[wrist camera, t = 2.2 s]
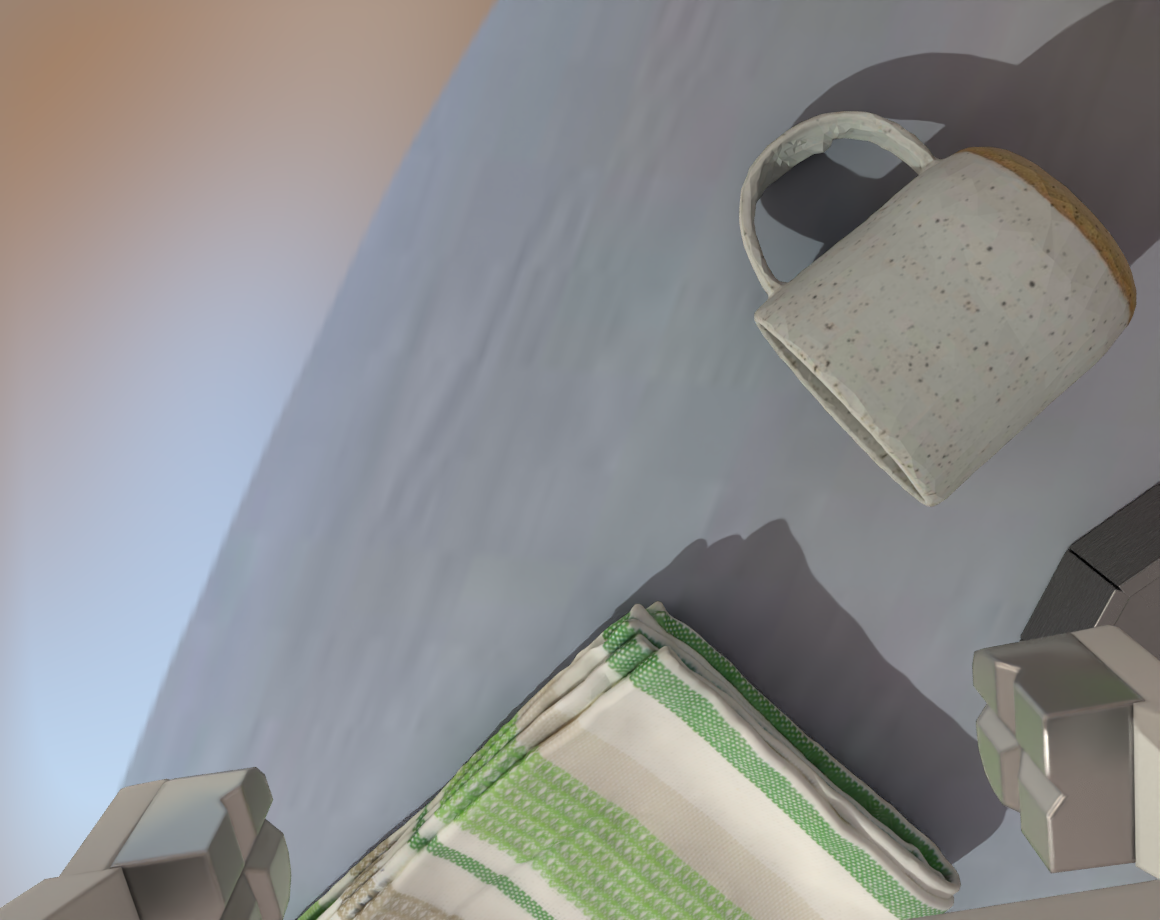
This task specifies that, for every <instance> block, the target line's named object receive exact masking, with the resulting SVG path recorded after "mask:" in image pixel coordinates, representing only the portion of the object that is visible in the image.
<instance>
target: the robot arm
mask: <svg viewBox="0 0 1160 920" xmlns="http://www.w3.org/2000/svg"><path fill="white" fill-rule="evenodd" d="M972 669H973V686H974V687H975V688H976V690H977V691H978V692H979V694H980V695H981V696H982V697H983V699H984V700H985V701H986V703H987V704H986V706H985V707H984V709H983V711H982V712H981V714H980V715H979V717H978V719H977V720H976V728H977V739H978V748H979V752H980V756H981V759H982V763H983V767H984V771H985V774H986V776H987V778H988V780H989V782H990V785H991V787H992V789H993V791H994V792H995V794H996V795H997V797H998V798H999V800H1000V801H1001V803H1002V804H1003V805H1004V806H1006V807H1009V808H1011V809H1013V810H1015V811H1017V812H1019V813H1020V816H1021V831H1022V833H1023V834H1024V836H1025V837H1026V839H1027V840H1028V841H1029V843H1030V844H1031V846H1032V847H1033V848H1034V850H1035V851H1036V853H1037V854H1038V855H1039V857H1040V858H1041V860H1042V861H1043V863H1044V864H1045V865H1046V867H1047V868H1048V870H1049V871H1050V872H1051V873H1057V872H1065V871H1072V870H1080V869H1088V868H1096V867H1103V866H1111V865H1119V864H1127V863H1134V862H1136V866H1137V867H1138V868H1140V869H1142V870H1144V871H1145V872H1147V873H1149V874H1151V875H1152V876H1154V877H1156V878H1158V879H1159V880H1153V881H1147V882H1141V883H1134V884H1128V885H1122V886H1115V887H1109V888H1103V889H1096V890H1090V891H1083V892H1077V893H1071V894H1064V895H1058V896H1052V897H1045V898H1039V899H1033V900H1026V901H1020V902H1013V903H1007V904H1001V905H994V906H988V907H982V908H975V909H969V910H963V911H956V912H950V913H943V914H937V915H931V916H924V917H918V918H912V919H905V920H1160V661H1159V660H1158V659H1157V658H1156V657H1155V656H1153V655H1152V654H1151V653H1150V652H1148V651H1147V650H1146V649H1145V648H1143V647H1142V646H1141V645H1140V644H1139V643H1137V642H1136V641H1135V640H1134V639H1132V638H1131V637H1130V636H1129V635H1128V634H1126V633H1125V632H1124V631H1123V630H1121V629H1120V628H1119V627H1116V626H1111V625H1104V626H1099V627H1094V628H1090V629H1085V630H1080V631H1075V632H1070V633H1069V632H1068V633H1063V634H1058V635H1052V636H1047V637H1042V638H1036V639H1031V640H1026V641H1021V642H1015V643H1010V644H1005V645H999V646H994V647H989V648H984V649H980V650H977V651H974V658H973V664H972ZM272 801H273V798H272V795H271V792H270V789H269V786H268V783H267V780H266V777H265V774H263V773H262V772H261V771H260V770H259V769H258V768H257V767H251V768H244V769H238V770H231V771H224V772H217V773H210V774H203V775H196V776H189V777H182V778H175V779H172V780H169V779H164V780H158V781H153V782H148V783H142V784H137V785H132V786H129V787H126V788H123V789H121V790H120V791H119V792H118V794H117V795H116V797H115V798H114V799H113V801H112V802H111V804H110V805H109V807H108V808H107V809H106V811H105V812H104V814H103V815H102V817H101V818H100V819H99V821H98V822H97V824H96V825H95V827H94V828H93V829H92V831H91V832H90V834H89V835H88V836H87V838H86V839H85V840H84V842H83V843H82V845H81V846H80V848H79V849H78V850H77V852H76V854H75V855H74V856H73V857H72V859H71V860H70V862H69V863H68V865H67V866H66V867H65V869H64V870H63V872H62V873H61V874H60V876H59V877H55V878H49V879H44V880H43V881H41V882H40V883H38V884H37V885H35V886H34V887H32V888H31V889H29V890H27V891H26V892H24V893H23V894H21V895H20V896H18V897H17V898H15V899H14V900H12V901H10V902H9V903H7V904H6V905H4V906H3V907H1V908H0V920H283V917H284V914H285V911H286V908H287V905H288V902H289V897H290V884H291V868H290V860H289V852H288V848H287V845H286V841H285V838H284V834H283V833H282V832H281V831H280V830H279V829H277V828H276V827H275V826H274V825H272V824H271V823H270V822H269V821H267V820H266V819H265V817H266V815H267V813H268V810H269V808H270V806H271V804H272Z"/></svg>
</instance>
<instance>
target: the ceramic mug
mask: <svg viewBox="0 0 1160 920" xmlns="http://www.w3.org/2000/svg"><path fill="white" fill-rule="evenodd" d="M841 138H850V139H856V140H865V141H870V142H872V143H875V144H877V145H879V146H880V147H881V148H882V149H885V150H888V151H890V152H892V153H893V154H894V155H896V156H897V157H898V158H900V159H901V160H902V161H904V162H905V163H907V164H908V165H909V166H910V167H911V168H912V169H913V170H914V171H915V172H916V173H917V174H918V175H919V176H917V177H916V178H915V179H913V180H912V181H911V182H910V183H909V184H907V185H906V186H905V187H904V188H903V189H901V190H900V191H899V192H898V193H897V194H895V195H894V196H893V197H892V198H891V199H890V200H889V201H888V202H886V203H885V204H884V205H883V206H882V207H881V208H880V209H879V210H878V211H876V212H875V213H874V214H872V215H871V216H870V217H869V218H868V219H867V220H866V221H865V222H864V223H862V224H861V225H860V226H858V227H857V228H856V229H855V230H853V231H852V232H851V233H850V234H849V235H847V236H846V237H844V238H843V239H842V240H840V241H839V242H838V243H837V244H835V245H834V246H833V247H832V248H831V249H829V250H828V251H827V252H826V253H825V254H823V255H822V256H821V257H819V258H818V259H816V260H815V261H814V262H813V263H812V264H811V265H810V266H808V267H807V268H805V269H804V270H803V271H801V272H800V273H799V274H798V275H797V276H796V277H795V278H794V279H793V280H791V281H790V282H788V283H786V282H780V281H778V280H777V279H776V278H775V277H774V275H773V274H772V272H771V270H770V269H769V267H768V265H767V263H766V260H765V258H764V256H763V253H762V250H761V247H760V244H759V241H758V238H757V236H756V232H755V225H754V217H755V209H756V203H757V201H758V200H759V199H760V197H761V196H762V194H763V192H764V190H765V189H766V188H767V187H768V186H769V185H770V184H771V183H773V182H775V181H776V180H777V179H778V178H780V177H781V176H782V175H784V174H785V173H786V172H787V171H789V170H790V169H791V168H792V167H794V166H795V165H796V164H798V163H799V162H801V161H803V160H804V159H806V158H808V157H809V156H811V155H813V154H817V153H824V152H825V151H826V150H827V149H828V148H829V147H830V146H831V144H832V141H833V140H834V139H841ZM739 223H740V229H741V235H742V240H743V244H744V247H745V250H746V252H747V255H748V257H749V260H750V262H751V265H752V267H753V269H754V271H755V273H756V275H757V277H758V279H759V281H760V283H761V285H762V287H763V288H764V290H765V291H766V293H767V294H768V296H769V298H768V300H767V301H766V302H765V303H764V304H763V305H762V306H761V307H760V308H759V309H758V310H757V311H756V312H755V315H754V319H755V322H756V324H757V326H758V328H759V329H760V330H761V332H762V334H763V335H764V337H765V338H766V339H767V340H768V342H769V343H770V345H771V346H772V347H773V349H774V350H775V351H776V352H777V354H778V355H779V357H780V358H781V359H782V360H783V361H784V362H785V363H786V364H787V365H788V366H789V367H790V368H791V370H792V371H793V372H794V373H795V375H796V376H797V377H798V379H799V380H800V381H801V382H802V384H803V385H804V386H805V387H806V388H807V389H808V390H809V391H810V392H811V394H812V395H813V396H814V397H815V398H816V399H817V400H818V401H819V402H820V403H821V405H822V406H823V407H824V409H825V410H826V411H827V412H828V413H829V414H830V415H831V416H833V418H834V419H835V420H836V422H837V423H838V424H839V425H840V426H841V427H842V428H843V429H844V430H845V431H846V432H847V433H848V434H849V435H850V436H851V437H852V438H853V439H854V440H855V442H856V443H857V444H858V445H859V446H860V447H861V448H862V449H863V450H864V451H865V452H866V453H867V454H868V455H869V456H870V457H871V458H872V459H873V460H874V462H875V463H876V464H877V465H878V466H879V467H881V468H882V469H883V470H884V471H886V472H887V473H888V474H889V475H890V477H891V478H892V479H893V480H894V481H896V482H897V483H898V484H900V485H901V486H902V487H903V489H905V490H906V491H907V492H908V493H909V494H910V495H912V496H913V497H915V498H916V499H917V500H918V501H919V502H921V503H923V504H925V505H926V506H930V507H932V506H935V505H937V504H939V503H941V502H942V501H944V500H945V499H946V498H948V497H949V496H950V495H951V494H952V493H953V492H954V491H955V490H956V489H957V488H958V487H959V486H960V485H961V484H963V483H964V482H965V481H966V480H967V479H968V478H969V477H970V476H971V475H972V474H973V473H974V472H975V471H976V470H977V469H978V468H979V467H981V466H982V465H983V464H984V463H986V462H987V461H988V460H989V459H990V458H991V457H992V456H993V455H995V454H996V453H997V452H998V451H999V450H1000V449H1001V448H1002V447H1003V446H1004V445H1005V444H1006V443H1008V442H1009V441H1010V440H1011V439H1012V438H1013V437H1014V436H1015V435H1016V434H1017V433H1019V432H1020V431H1021V430H1022V429H1023V428H1024V427H1026V426H1027V425H1028V424H1029V423H1030V422H1031V421H1032V420H1033V419H1034V418H1035V417H1036V416H1037V415H1038V414H1039V413H1040V412H1042V411H1043V410H1044V409H1045V408H1046V407H1047V406H1048V405H1049V404H1050V403H1051V402H1052V401H1054V400H1055V399H1056V398H1057V397H1058V396H1059V395H1060V394H1062V393H1063V392H1064V391H1065V390H1066V389H1067V388H1069V387H1070V386H1071V385H1072V384H1073V383H1074V382H1076V381H1077V380H1078V379H1079V378H1080V377H1081V376H1082V375H1084V374H1085V373H1086V372H1087V371H1088V370H1089V369H1090V368H1091V367H1093V366H1094V365H1095V364H1096V363H1097V362H1098V361H1099V360H1100V358H1101V357H1102V356H1103V355H1104V354H1105V353H1106V352H1107V351H1108V350H1109V348H1110V347H1111V346H1112V344H1113V343H1114V342H1115V340H1116V339H1117V338H1118V337H1119V335H1120V334H1121V333H1122V332H1123V330H1124V329H1125V328H1126V327H1127V325H1128V324H1129V322H1130V320H1131V318H1132V316H1133V314H1134V310H1135V307H1136V287H1135V284H1134V280H1133V276H1132V272H1131V270H1130V267H1129V264H1128V262H1127V260H1126V258H1125V257H1124V255H1123V253H1122V251H1121V250H1120V248H1119V246H1118V245H1117V243H1116V242H1115V240H1114V239H1113V237H1112V236H1111V235H1110V233H1109V232H1108V230H1107V229H1106V228H1105V227H1104V226H1103V225H1102V223H1101V222H1100V221H1099V220H1098V219H1097V218H1096V217H1095V216H1094V214H1093V213H1092V212H1091V211H1090V210H1089V209H1088V208H1087V207H1086V206H1085V205H1084V204H1083V203H1082V202H1081V201H1080V200H1079V199H1078V198H1077V197H1076V196H1075V195H1074V194H1073V193H1072V192H1071V191H1070V190H1069V189H1068V188H1067V187H1066V186H1064V185H1063V184H1062V183H1060V182H1059V181H1057V180H1056V179H1055V178H1053V177H1052V176H1051V175H1049V174H1048V173H1047V172H1045V171H1044V170H1043V169H1041V168H1040V167H1039V166H1038V165H1036V164H1034V163H1033V162H1031V161H1029V160H1027V159H1026V158H1024V157H1022V156H1020V155H1017V154H1015V153H1013V152H1010V151H1008V150H1005V149H1000V148H994V147H969V148H966V149H963V150H960V151H958V152H956V153H955V154H953V155H951V156H949V157H948V158H946V159H937V158H936V157H934V156H933V155H932V153H931V152H930V150H929V149H928V148H927V147H926V146H925V145H924V144H923V143H922V142H920V141H919V139H918V138H917V137H916V136H915V135H914V134H912V133H910V132H908V131H907V130H905V129H904V128H903V127H901V126H900V125H899V124H897V123H895V122H892V121H890V120H888V119H885V118H883V117H880V116H878V115H876V114H872V113H868V112H857V111H842V112H834V113H826V114H821V115H818V116H815V117H813V118H811V119H808V120H806V121H803V122H801V123H799V124H797V125H796V126H794V127H792V128H791V129H789V130H788V131H786V132H785V133H784V134H782V135H781V136H780V137H779V138H777V139H776V140H775V141H773V142H772V143H771V144H769V145H768V146H767V147H766V148H765V149H764V151H763V152H762V153H761V154H760V155H759V157H758V158H757V159H756V160H755V161H754V163H753V164H752V166H751V167H750V168H749V171H748V174H747V177H746V180H745V182H744V184H743V187H742V189H741V197H740V208H739Z"/></svg>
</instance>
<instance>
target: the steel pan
mask: <svg viewBox="0 0 1160 920" xmlns="http://www.w3.org/2000/svg"><path fill="white" fill-rule="evenodd" d="M1070 549H1071V551H1070V550H1067V551H1066V552H1065V554H1064V556H1063V558H1062V560H1061V562H1060V564H1059V565H1058V567H1057V569H1056V571H1055V573H1054V575H1053V577H1052V579H1051V580H1050V582H1049V584H1048V586H1047V588H1046V590H1045V592H1044V593H1043V595H1042V597H1041V599H1040V601H1039V603H1038V605H1037V607H1036V608H1035V610H1034V612H1033V614H1032V616H1031V618H1030V620H1029V621H1028V623H1027V625H1026V627H1025V629H1024V631H1023V633H1022V635H1021V638H1022V639H1023V640H1020V642H1021V641H1026V640H1031V639H1036V638H1042V637H1047V636H1052V635H1058V634H1063V633H1068V632H1069V633H1070V632H1075V631H1080V630H1085V629H1090V628H1094V627H1099V626H1104V625H1111V626H1116V627H1119V628H1120V629H1121V630H1123V631H1124V632H1125V633H1126V634H1128V635H1129V636H1130V637H1131V638H1132V639H1134V640H1135V641H1136V642H1137V643H1139V644H1140V645H1141V646H1142V647H1143V648H1145V649H1146V650H1147V651H1148V652H1150V653H1151V654H1152V655H1153V656H1155V657H1156V658H1157V659H1158V660H1159V661H1160V485H1156V486H1155V487H1154V488H1152V489H1151V490H1149V491H1148V492H1147V493H1145V494H1144V495H1142V496H1141V497H1139V498H1138V499H1137V500H1135V501H1134V502H1132V503H1131V504H1130V505H1128V506H1127V507H1125V508H1124V509H1122V510H1121V511H1120V512H1118V513H1117V514H1115V515H1114V516H1112V517H1111V518H1110V519H1108V520H1107V521H1105V522H1104V523H1103V524H1101V525H1100V526H1098V527H1097V528H1096V529H1094V530H1093V531H1091V532H1090V533H1088V534H1087V535H1086V536H1084V537H1083V538H1081V539H1080V540H1079V541H1077V542H1076V543H1074V544H1073V545H1071V546H1070Z"/></svg>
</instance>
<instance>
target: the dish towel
mask: <svg viewBox="0 0 1160 920" xmlns="http://www.w3.org/2000/svg"><path fill="white" fill-rule="evenodd" d="M960 886H961V883H960V879H959V875H958V873H957V871H956V870H955V868H954V867H953V866H952V865H951V864H950V863H949V862H948V861H947V860H946V858H945V857H944V856H943V855H942V853H941V852H940V850H939V848H938V847H937V846H936V845H935V844H934V843H933V842H932V841H931V840H930V839H929V838H928V837H926V836H925V835H924V834H923V833H921V832H920V831H919V830H918V829H916V828H915V827H914V826H913V825H912V824H911V823H909V822H908V821H907V820H906V819H905V818H904V817H903V816H902V815H901V814H900V813H899V812H898V811H897V810H896V809H895V808H894V807H893V806H892V805H891V804H889V803H888V802H886V801H885V800H884V799H882V798H881V797H880V796H879V795H877V794H876V793H875V792H874V791H873V790H872V789H871V788H870V787H869V786H868V785H867V784H865V783H864V782H863V781H861V780H860V779H859V778H857V777H856V776H855V775H854V774H853V773H851V772H850V771H849V770H848V769H847V768H846V767H844V766H843V765H842V764H841V763H839V762H838V761H837V760H836V759H835V758H833V757H832V756H831V755H830V754H829V753H828V752H827V751H826V750H825V749H824V748H823V747H822V746H821V745H819V744H818V743H817V742H815V741H813V740H812V739H811V738H809V737H808V736H807V735H806V734H805V733H804V732H803V731H802V730H801V729H800V728H799V727H798V726H797V725H795V724H794V723H793V722H792V721H791V720H790V719H789V717H787V716H786V715H785V714H784V713H782V712H781V711H780V710H779V709H778V708H777V707H776V706H774V705H773V704H772V703H771V702H770V701H769V700H768V699H767V698H766V697H765V696H763V695H762V694H761V693H760V692H759V691H758V690H757V689H756V688H755V687H753V686H752V685H751V684H750V683H749V682H748V681H747V680H746V678H745V677H744V676H743V675H742V674H741V673H740V672H739V671H738V670H737V669H736V667H735V666H734V665H733V664H732V663H731V662H730V661H729V660H728V659H726V658H725V657H724V656H723V655H721V654H720V653H719V652H717V651H716V650H715V649H714V648H713V647H712V646H711V645H709V644H708V643H707V642H706V641H705V640H704V639H703V638H702V637H701V636H700V635H699V634H698V633H697V632H695V631H694V630H693V629H691V628H690V627H689V626H688V625H686V624H684V623H683V622H681V621H679V620H677V619H675V618H673V617H672V616H670V614H669V613H668V612H667V611H666V609H665V607H664V606H663V604H662V603H661V602H659V601H656V602H655V603H653V604H652V605H651V606H650V607H648V608H647V609H645V608H644V607H643V606H642V605H641V604H635V605H634V606H633V608H632V609H631V611H630V612H629V613H627V614H626V615H625V616H623V617H622V618H621V619H619V620H618V621H616V622H615V623H613V624H612V625H610V626H609V627H608V628H607V629H606V630H605V631H603V632H602V633H601V634H600V635H599V636H598V637H597V638H596V639H595V640H594V641H593V642H592V643H591V644H590V645H589V646H588V647H586V648H585V649H584V650H582V651H581V652H579V653H578V654H577V656H576V657H575V659H574V661H573V662H572V663H571V664H570V666H568V667H567V668H565V669H564V670H562V671H561V672H559V673H558V674H557V675H556V676H555V677H554V678H553V679H551V680H550V681H549V682H548V683H547V684H546V685H545V686H544V687H543V688H542V689H541V690H540V691H539V692H538V693H537V694H536V695H535V696H533V697H532V698H531V699H530V700H529V701H528V702H527V703H526V704H525V705H524V706H523V707H522V708H521V709H520V710H519V711H518V712H517V713H516V715H515V716H514V717H513V718H512V719H511V720H510V721H509V722H508V723H507V724H505V725H504V726H502V727H501V729H500V730H499V732H498V733H497V734H495V735H494V736H493V737H491V738H490V739H489V741H488V742H487V743H486V744H485V745H484V747H483V748H482V749H481V750H479V751H478V752H476V753H475V754H474V755H473V756H472V757H471V758H470V760H469V761H468V762H467V763H466V764H464V765H463V766H462V767H461V768H460V769H459V770H458V772H457V773H456V775H455V776H454V777H453V778H452V779H451V780H450V781H449V782H448V783H447V785H446V786H445V787H444V788H443V789H442V790H441V791H440V793H439V794H438V795H437V796H436V797H435V798H434V799H433V800H432V801H431V802H430V803H428V804H427V805H426V806H425V807H424V808H423V809H422V810H421V811H419V812H418V813H417V814H416V815H414V816H413V817H412V818H411V819H410V820H409V821H408V822H407V823H406V824H405V825H404V826H402V827H401V828H400V829H399V830H397V831H396V832H395V833H394V834H392V835H391V836H390V837H388V838H387V839H386V840H384V841H383V842H381V843H380V844H379V845H378V846H377V847H376V848H375V849H374V850H373V851H372V852H370V853H369V854H368V855H366V856H365V857H364V858H363V859H362V860H361V861H360V862H359V863H358V864H357V865H355V866H354V867H353V868H351V869H350V870H349V872H348V873H347V874H346V875H345V876H344V877H343V878H342V879H341V880H339V881H338V882H337V883H336V884H335V885H334V886H333V887H332V888H331V889H330V890H329V891H328V893H327V894H326V895H324V896H323V897H322V898H320V899H319V900H318V901H317V902H315V903H314V904H313V905H312V906H311V907H310V908H309V909H308V910H307V911H306V912H305V913H304V914H303V915H302V916H301V917H300V918H298V919H297V920H905V919H912V918H918V917H924V916H931V915H937V914H943V913H945V912H946V911H947V910H948V909H949V908H951V907H952V906H953V904H954V897H953V895H954V894H955V893H956V892H958V891H959V889H960Z"/></svg>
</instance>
